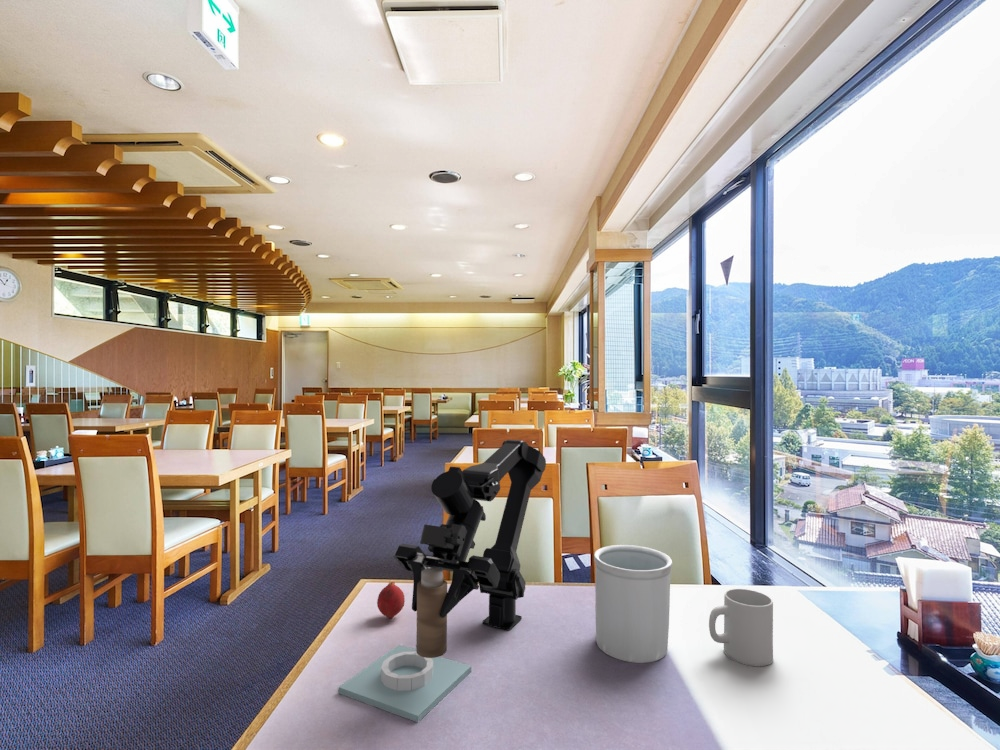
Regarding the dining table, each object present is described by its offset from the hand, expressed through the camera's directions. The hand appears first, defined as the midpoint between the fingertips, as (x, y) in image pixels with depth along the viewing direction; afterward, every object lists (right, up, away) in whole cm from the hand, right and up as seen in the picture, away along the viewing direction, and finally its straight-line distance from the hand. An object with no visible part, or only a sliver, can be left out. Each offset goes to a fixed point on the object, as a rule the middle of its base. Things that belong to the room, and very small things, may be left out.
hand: (427, 613), depth 88 cm
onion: (-12, -14, +28) cm, 33 cm away
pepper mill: (+1, -7, +1) cm, 7 cm away
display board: (-4, -13, +4) cm, 15 cm away
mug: (+57, -14, +14) cm, 61 cm away
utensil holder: (+38, -14, +17) cm, 44 cm away
